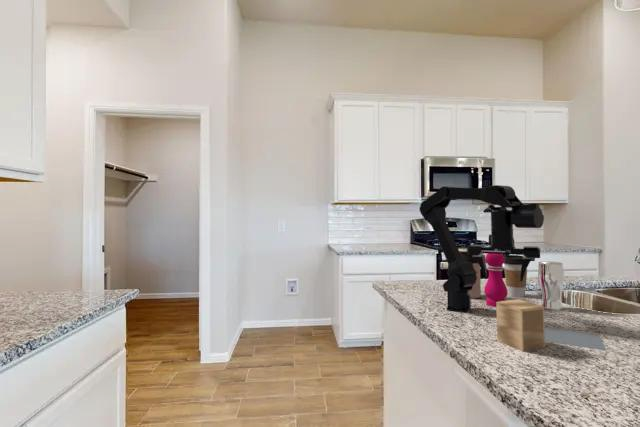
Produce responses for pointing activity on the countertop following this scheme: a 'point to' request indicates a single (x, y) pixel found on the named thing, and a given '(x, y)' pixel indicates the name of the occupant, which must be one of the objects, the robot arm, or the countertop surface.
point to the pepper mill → (495, 279)
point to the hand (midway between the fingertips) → (503, 280)
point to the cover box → (520, 324)
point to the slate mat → (574, 338)
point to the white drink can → (551, 284)
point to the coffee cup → (514, 275)
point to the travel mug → (477, 286)
